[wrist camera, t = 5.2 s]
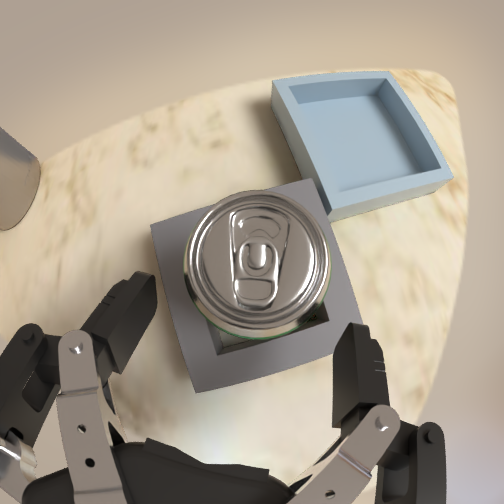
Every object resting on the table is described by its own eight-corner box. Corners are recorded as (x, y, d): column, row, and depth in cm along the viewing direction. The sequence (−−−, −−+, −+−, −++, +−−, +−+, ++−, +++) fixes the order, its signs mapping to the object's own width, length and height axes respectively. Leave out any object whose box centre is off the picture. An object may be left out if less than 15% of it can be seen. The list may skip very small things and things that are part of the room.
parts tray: (320, 225, 21) (332, 209, 17) (270, 106, 23) (272, 80, 20) (433, 192, 21) (453, 177, 18) (377, 92, 24) (388, 71, 20)
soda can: (293, 255, 20) (340, 185, 9) (289, 325, 19) (337, 346, 8) (223, 250, 21) (185, 175, 9) (218, 320, 20) (166, 334, 8)
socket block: (205, 380, 19) (195, 393, 15) (165, 238, 21) (150, 224, 17) (349, 335, 19) (367, 339, 16) (303, 197, 21) (311, 177, 18)
